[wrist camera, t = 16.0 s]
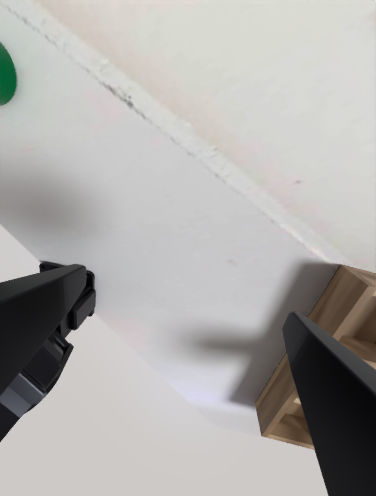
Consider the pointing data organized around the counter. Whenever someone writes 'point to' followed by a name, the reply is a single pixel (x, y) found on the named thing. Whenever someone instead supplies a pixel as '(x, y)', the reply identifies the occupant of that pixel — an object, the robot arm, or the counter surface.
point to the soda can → (7, 76)
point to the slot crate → (339, 327)
